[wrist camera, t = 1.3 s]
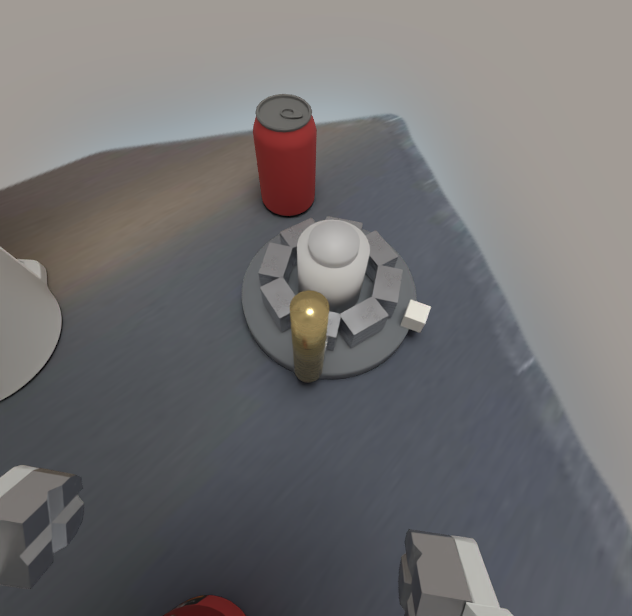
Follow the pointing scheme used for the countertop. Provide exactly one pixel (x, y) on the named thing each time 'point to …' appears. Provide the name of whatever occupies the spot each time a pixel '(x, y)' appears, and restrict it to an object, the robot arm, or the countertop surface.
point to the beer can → (285, 153)
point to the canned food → (206, 607)
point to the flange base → (342, 350)
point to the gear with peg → (326, 301)
